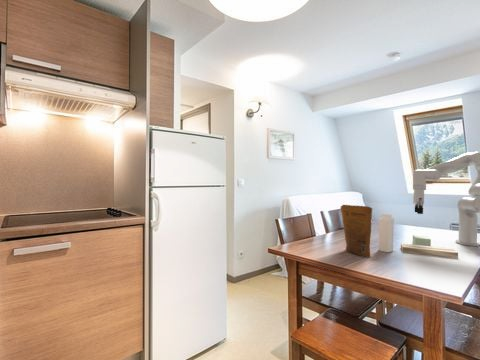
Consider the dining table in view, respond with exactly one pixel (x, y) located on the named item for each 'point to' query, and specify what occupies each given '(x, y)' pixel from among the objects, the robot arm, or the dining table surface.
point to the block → (421, 240)
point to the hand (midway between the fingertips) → (418, 212)
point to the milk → (386, 233)
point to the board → (429, 250)
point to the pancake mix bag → (357, 229)
